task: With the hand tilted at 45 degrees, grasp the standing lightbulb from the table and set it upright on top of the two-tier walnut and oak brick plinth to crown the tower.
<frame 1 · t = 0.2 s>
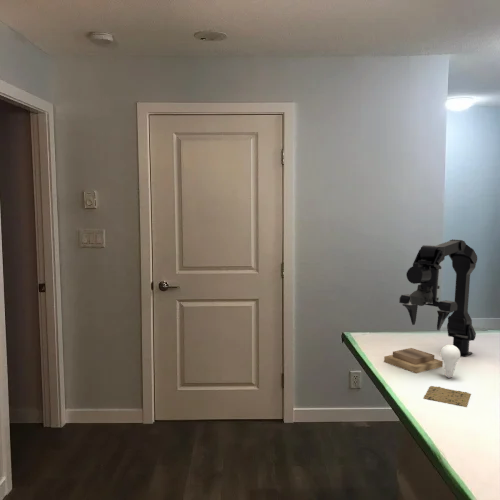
hand: (425, 327, 173), 14 cm above the table, tool pointing down, fingers open, 9 cm apart
plinth: (412, 364, 178), on the table
lightbulb: (448, 378, 165), on the table
cookie: (447, 398, 149), on the table
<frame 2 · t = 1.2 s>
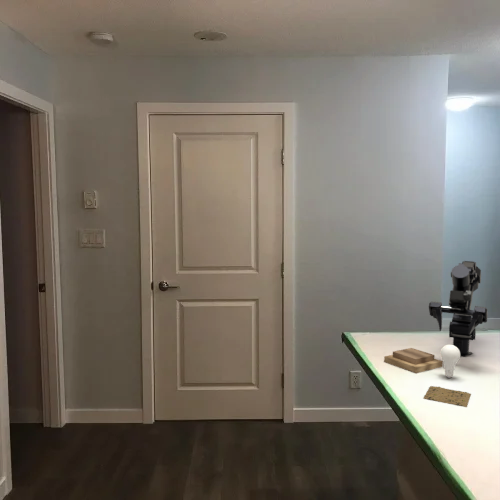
hand: (454, 332, 171), 14 cm above the table, tool tilted 45°, fingers open, 9 cm apart
nothing on the table moved.
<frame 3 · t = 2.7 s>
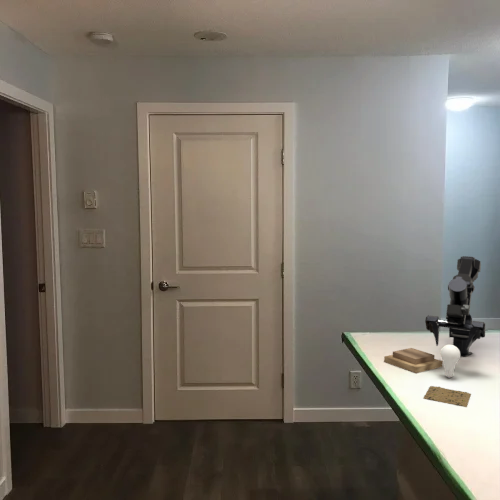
hand: (451, 347, 166), 10 cm above the table, tool tilted 45°, fingers open, 9 cm apart
nothing on the table moved.
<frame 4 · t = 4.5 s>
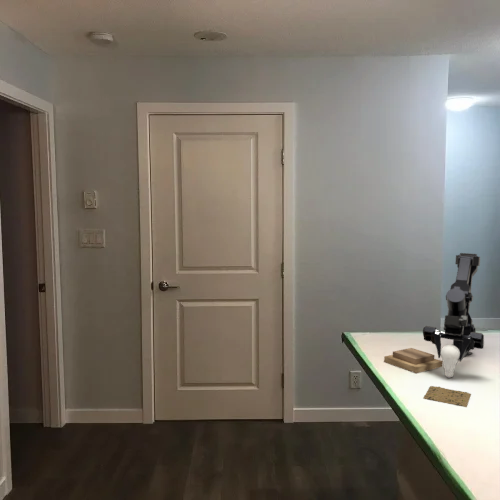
hand: (449, 359, 163), 7 cm above the table, tool tilted 45°, fingers closed on lightbulb, 6 cm apart
lightbulb: (448, 378, 165), on the table, touching gripper
everything else where it was.
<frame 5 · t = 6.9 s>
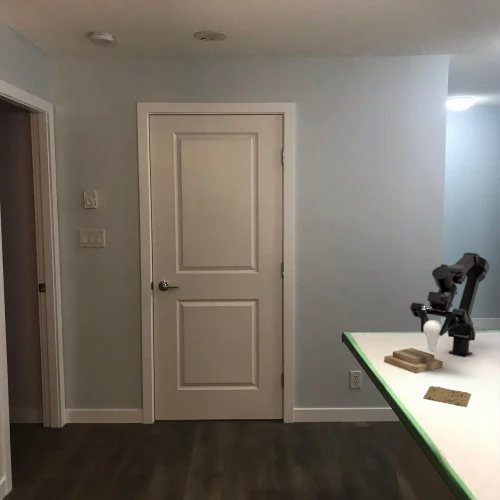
hand: (430, 333, 170), 13 cm above the table, tool tilted 45°, fingers closed on lightbulb, 6 cm apart
lightbulb: (431, 352, 171), point 6 cm above the table, touching gripper
everything else where it was.
when the fingers open (11 cm above the table, at t = 9.5 s): lightbulb stays where it is, resting on plinth.
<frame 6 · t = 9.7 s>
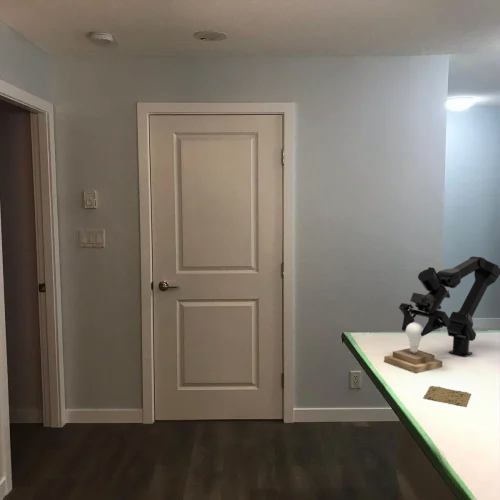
hand: (411, 332, 177), 12 cm above the table, tool tilted 45°, fingers open, 8 cm apart
lightbulb: (413, 353, 178), point 4 cm above the table, touching plinth
everything else where it was.
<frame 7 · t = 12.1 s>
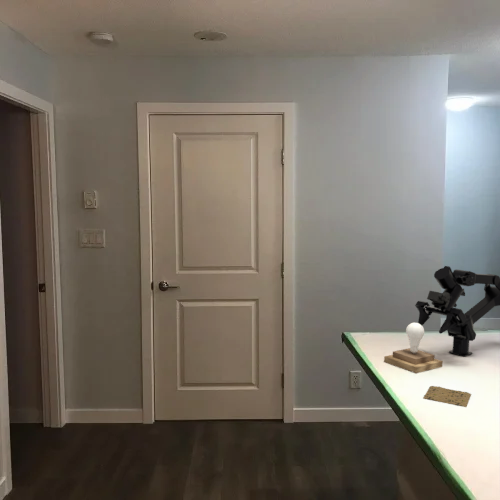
hand: (428, 329, 182), 12 cm above the table, tool tilted 45°, fingers open, 9 cm apart
nothing on the table moved.
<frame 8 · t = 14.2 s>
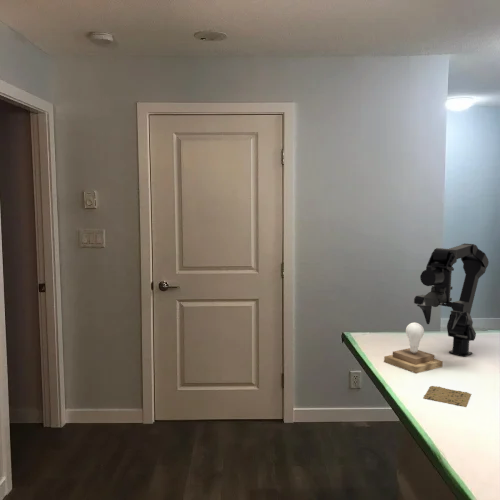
hand: (439, 326, 181), 13 cm above the table, tool pointing down, fingers open, 9 cm apart
nothing on the table moved.
at the end: lightbulb inside the target area on the plinth (0.1 cm from its centre), point 3.8 cm above the plinth's base; lightbulb tilted 0°; the gripper is holding nothing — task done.
